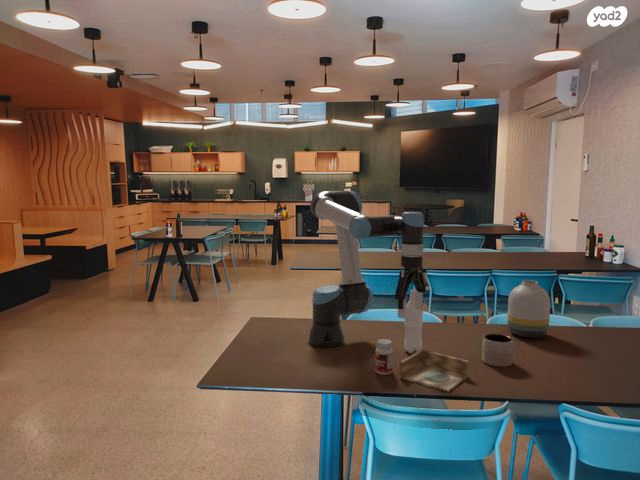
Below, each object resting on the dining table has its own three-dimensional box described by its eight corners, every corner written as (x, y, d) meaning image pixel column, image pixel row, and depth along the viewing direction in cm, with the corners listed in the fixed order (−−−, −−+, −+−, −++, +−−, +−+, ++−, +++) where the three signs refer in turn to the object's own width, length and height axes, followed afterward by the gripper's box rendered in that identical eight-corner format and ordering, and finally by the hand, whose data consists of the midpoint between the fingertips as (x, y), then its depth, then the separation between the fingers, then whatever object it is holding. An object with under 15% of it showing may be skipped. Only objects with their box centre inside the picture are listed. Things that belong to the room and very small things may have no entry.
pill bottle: (371, 372, 169) (372, 341, 167) (381, 367, 173) (381, 337, 172) (386, 376, 165) (387, 345, 163) (395, 371, 169) (396, 341, 168)
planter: (498, 370, 171) (499, 344, 170) (475, 360, 180) (476, 335, 179) (519, 364, 176) (520, 339, 175) (496, 355, 185) (497, 331, 184)
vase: (550, 332, 213) (553, 280, 210) (545, 343, 198) (548, 287, 195) (510, 326, 222) (513, 276, 219) (503, 336, 207) (505, 282, 204)
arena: (399, 377, 164) (399, 361, 163) (421, 364, 176) (421, 349, 175) (448, 392, 152) (448, 375, 152) (468, 376, 165) (468, 360, 164)
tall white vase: (422, 355, 185) (423, 292, 182) (403, 353, 187) (404, 292, 184) (421, 348, 192) (423, 288, 189) (404, 347, 194) (405, 287, 191)
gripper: (405, 261, 156) (403, 323, 159) (436, 252, 176) (434, 307, 179) (385, 258, 161) (384, 319, 163) (417, 250, 180) (415, 304, 183)
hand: (410, 313), depth 171 cm, fingers open, 13 cm apart
